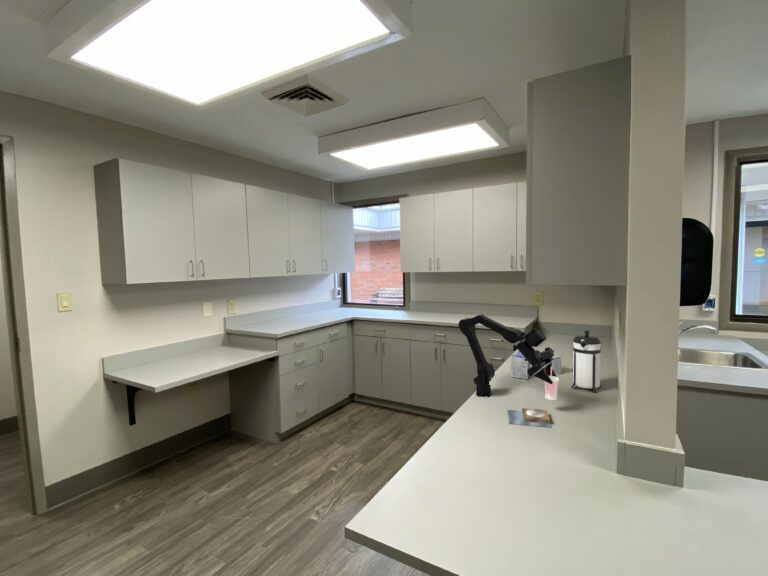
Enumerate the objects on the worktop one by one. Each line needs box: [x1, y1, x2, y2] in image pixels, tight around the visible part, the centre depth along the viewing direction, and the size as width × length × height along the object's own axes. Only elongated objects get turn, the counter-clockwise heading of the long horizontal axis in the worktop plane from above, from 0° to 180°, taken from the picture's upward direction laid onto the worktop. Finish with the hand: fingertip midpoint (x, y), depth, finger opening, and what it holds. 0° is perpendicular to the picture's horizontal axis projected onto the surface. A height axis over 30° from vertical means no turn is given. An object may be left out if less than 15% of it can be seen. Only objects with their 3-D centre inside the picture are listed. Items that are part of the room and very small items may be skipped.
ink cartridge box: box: [510, 350, 531, 380], centre depth 210 cm, size 10×6×14 cm, turn 53°
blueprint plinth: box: [507, 407, 552, 429], centre depth 157 cm, size 16×14×2 cm
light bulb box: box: [550, 353, 562, 376], centre depth 217 cm, size 11×7×11 cm, turn 25°
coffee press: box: [571, 329, 602, 394], centre depth 191 cm, size 17×16×30 cm
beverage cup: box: [544, 367, 560, 401], centre depth 163 cm, size 6×6×14 cm
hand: (554, 381), depth 162 cm, fingers closed on beverage cup, 6 cm apart
